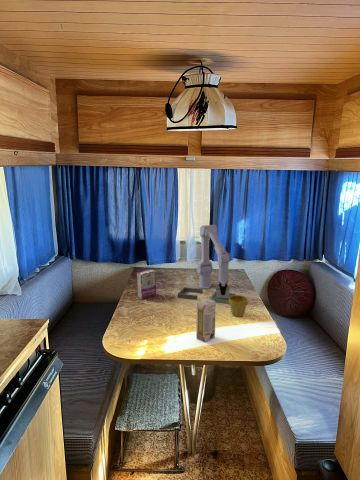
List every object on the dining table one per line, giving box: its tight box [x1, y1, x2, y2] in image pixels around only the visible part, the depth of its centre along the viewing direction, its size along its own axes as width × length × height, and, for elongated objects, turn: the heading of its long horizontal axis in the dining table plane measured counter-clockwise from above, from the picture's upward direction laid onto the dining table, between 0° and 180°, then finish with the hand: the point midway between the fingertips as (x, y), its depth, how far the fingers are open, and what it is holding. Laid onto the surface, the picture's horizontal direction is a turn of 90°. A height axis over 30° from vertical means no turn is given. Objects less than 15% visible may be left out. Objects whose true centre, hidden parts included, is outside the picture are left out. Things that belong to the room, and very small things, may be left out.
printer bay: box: [177, 286, 204, 301], centre depth 235 cm, size 13×13×2 cm
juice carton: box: [195, 297, 217, 343], centre depth 176 cm, size 8×9×19 cm
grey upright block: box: [215, 285, 230, 298], centre depth 228 cm, size 5×8×6 cm, turn 83°
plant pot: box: [228, 294, 249, 318], centre depth 204 cm, size 10×10×10 cm
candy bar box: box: [136, 269, 157, 300], centre depth 232 cm, size 11×5×16 cm, turn 129°
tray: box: [209, 290, 237, 305], centre depth 229 cm, size 14×14×2 cm
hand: (223, 293), depth 228 cm, fingers closed on grey upright block, 4 cm apart
